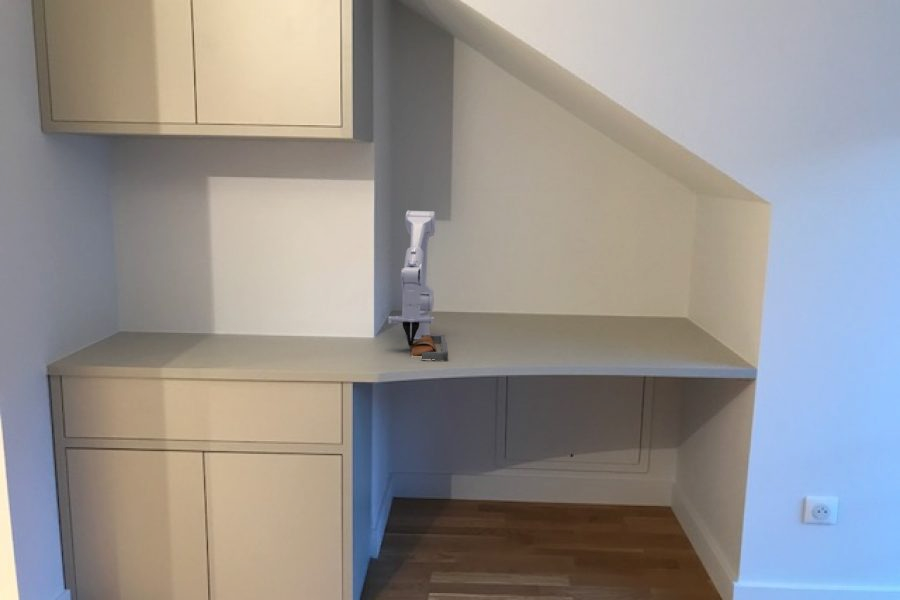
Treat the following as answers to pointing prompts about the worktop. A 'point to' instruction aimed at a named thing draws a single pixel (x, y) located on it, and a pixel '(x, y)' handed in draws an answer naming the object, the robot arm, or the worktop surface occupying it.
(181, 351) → the worktop surface
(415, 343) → the sunglasses case
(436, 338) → the keeper bracket
